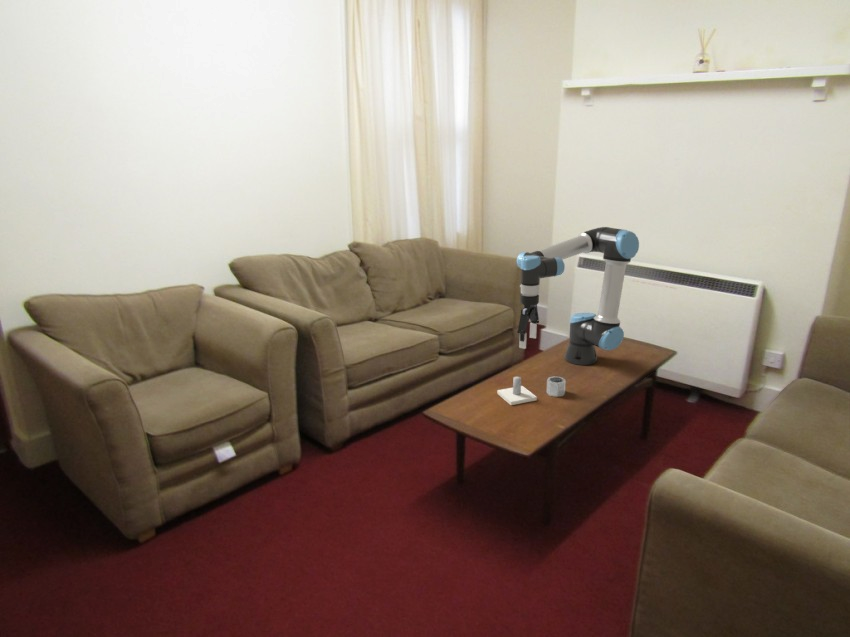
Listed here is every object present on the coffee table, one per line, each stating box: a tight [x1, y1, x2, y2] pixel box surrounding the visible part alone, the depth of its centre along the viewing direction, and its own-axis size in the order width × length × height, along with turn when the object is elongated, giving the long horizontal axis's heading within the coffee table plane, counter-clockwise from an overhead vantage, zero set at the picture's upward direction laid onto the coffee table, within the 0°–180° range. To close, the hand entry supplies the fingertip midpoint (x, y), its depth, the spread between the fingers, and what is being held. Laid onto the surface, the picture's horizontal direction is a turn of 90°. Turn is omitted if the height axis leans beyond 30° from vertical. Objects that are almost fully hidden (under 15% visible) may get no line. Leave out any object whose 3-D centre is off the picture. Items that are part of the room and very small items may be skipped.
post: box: [496, 376, 538, 406], centre depth 235 cm, size 12×12×8 cm
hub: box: [546, 375, 567, 398], centre depth 238 cm, size 7×7×6 cm
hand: (527, 342), depth 237 cm, fingers open, 13 cm apart
